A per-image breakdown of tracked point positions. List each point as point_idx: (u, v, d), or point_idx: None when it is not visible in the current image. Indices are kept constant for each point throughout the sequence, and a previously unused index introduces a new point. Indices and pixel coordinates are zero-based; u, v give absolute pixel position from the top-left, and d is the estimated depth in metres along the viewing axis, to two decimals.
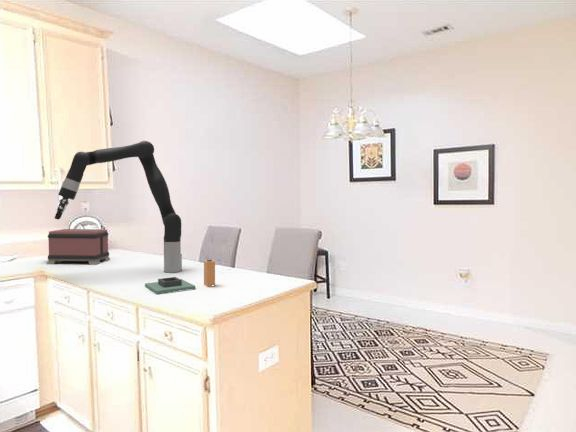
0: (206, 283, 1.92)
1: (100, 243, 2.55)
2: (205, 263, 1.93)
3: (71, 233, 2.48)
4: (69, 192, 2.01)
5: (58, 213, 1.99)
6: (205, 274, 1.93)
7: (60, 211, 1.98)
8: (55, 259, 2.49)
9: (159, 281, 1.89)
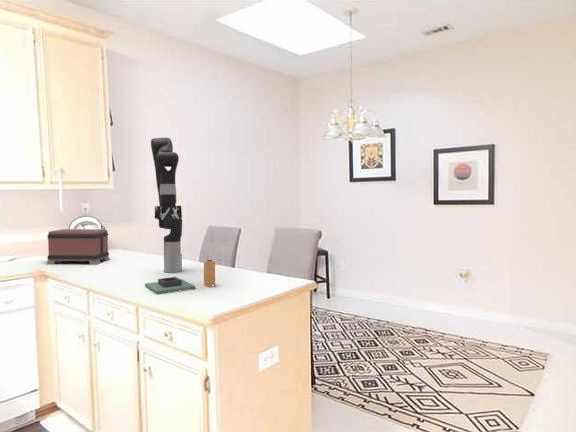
0: (206, 283, 1.92)
1: (100, 243, 2.55)
2: (205, 263, 1.93)
3: (71, 233, 2.48)
4: None
5: None
6: (205, 274, 1.93)
7: None
8: (55, 259, 2.48)
9: (159, 281, 1.89)
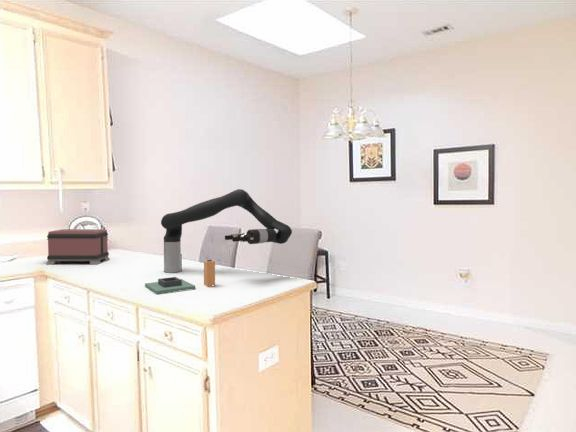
0: (206, 283, 1.92)
1: (100, 243, 2.55)
2: (205, 263, 1.93)
3: (71, 233, 2.47)
4: None
5: None
6: (205, 274, 1.93)
7: None
8: (55, 259, 2.48)
9: (159, 281, 1.89)
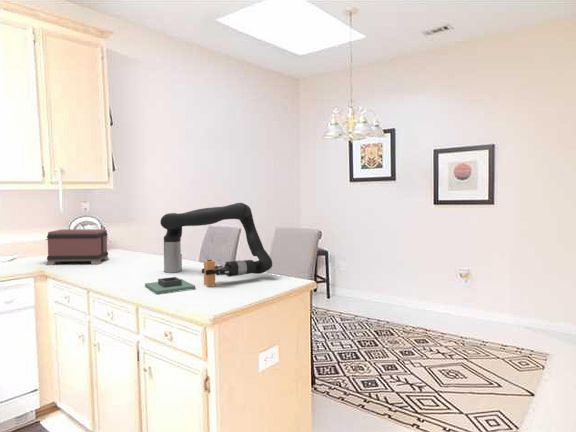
0: (206, 283, 1.92)
1: (101, 243, 2.56)
2: (205, 263, 1.93)
3: (72, 233, 2.47)
4: None
5: None
6: (205, 274, 1.93)
7: None
8: (55, 260, 2.46)
9: (159, 281, 1.89)
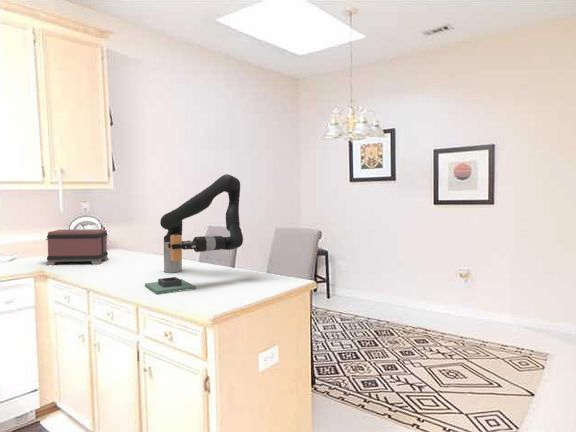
0: (172, 258, 1.88)
1: (101, 243, 2.56)
2: (171, 237, 1.88)
3: (72, 233, 2.47)
4: None
5: None
6: (171, 248, 1.88)
7: None
8: (55, 260, 2.46)
9: (159, 281, 1.89)
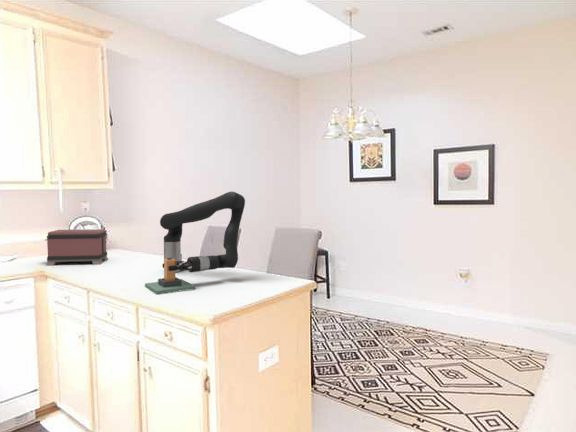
0: None
1: (102, 243, 2.56)
2: (165, 261, 1.88)
3: (73, 233, 2.46)
4: None
5: None
6: (165, 273, 1.88)
7: None
8: (55, 260, 2.45)
9: (159, 281, 1.89)
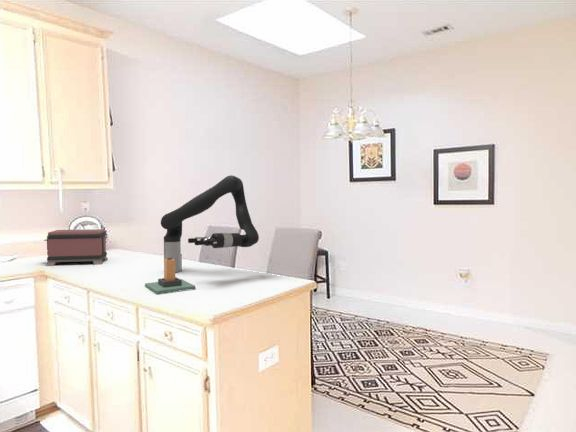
0: None
1: (102, 243, 2.56)
2: (165, 261, 1.88)
3: (73, 233, 2.46)
4: None
5: None
6: (165, 273, 1.88)
7: None
8: (55, 260, 2.44)
9: (159, 281, 1.89)
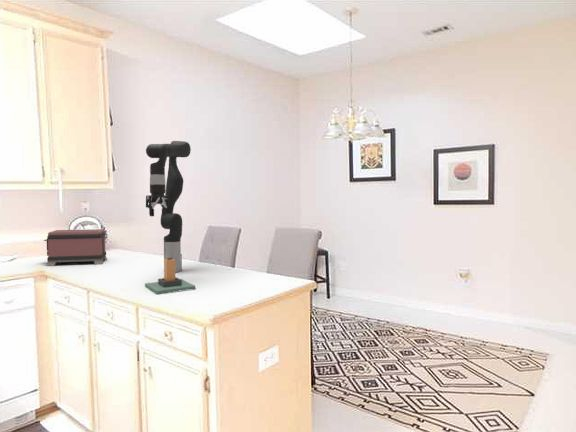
0: None
1: (102, 243, 2.57)
2: (165, 261, 1.88)
3: (74, 233, 2.46)
4: None
5: None
6: (165, 273, 1.88)
7: None
8: (56, 261, 2.43)
9: (159, 281, 1.89)
